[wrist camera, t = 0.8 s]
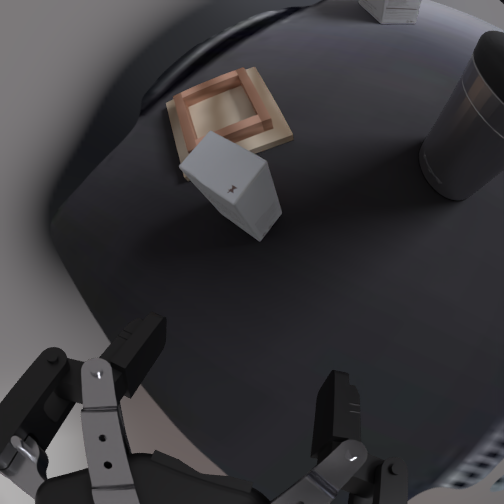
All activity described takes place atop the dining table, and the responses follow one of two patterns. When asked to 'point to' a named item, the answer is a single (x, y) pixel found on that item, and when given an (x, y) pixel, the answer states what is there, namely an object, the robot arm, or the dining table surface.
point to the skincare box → (234, 183)
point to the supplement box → (392, 10)
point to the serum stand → (228, 113)
